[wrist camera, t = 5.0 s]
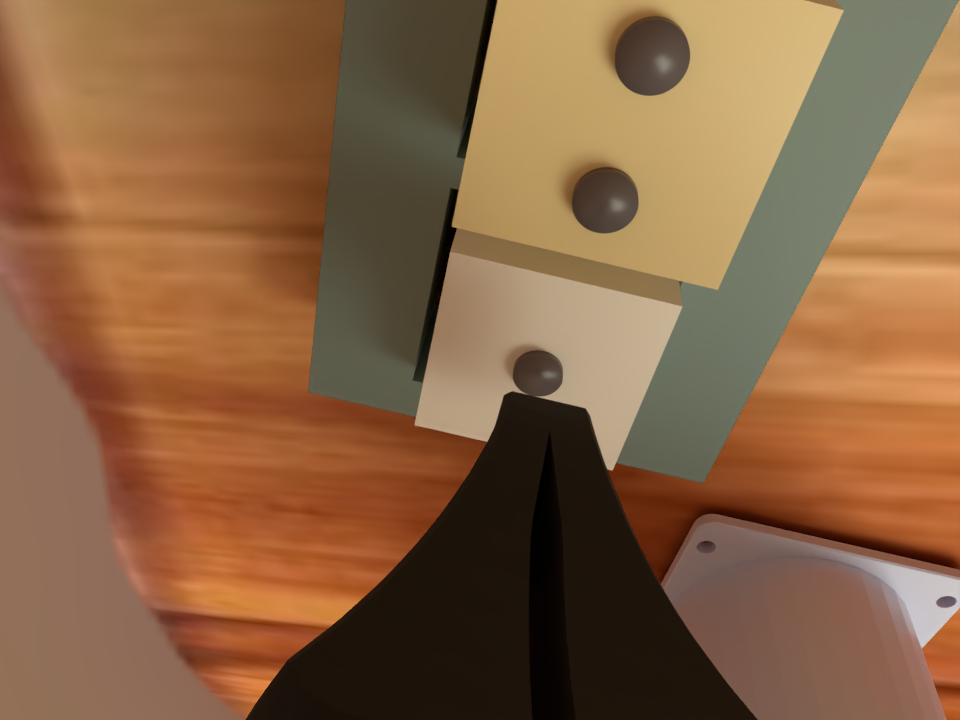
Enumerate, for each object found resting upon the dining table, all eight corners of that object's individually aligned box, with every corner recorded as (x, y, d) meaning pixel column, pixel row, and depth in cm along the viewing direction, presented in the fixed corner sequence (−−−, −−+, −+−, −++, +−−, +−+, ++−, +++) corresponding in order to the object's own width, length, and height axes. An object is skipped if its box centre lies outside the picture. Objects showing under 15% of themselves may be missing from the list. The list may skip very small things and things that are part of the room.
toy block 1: (691, 163, 16) (718, 297, 12) (485, 114, 16) (449, 232, 12) (779, -65, 13) (847, 15, 10) (536, -125, 13) (510, -69, 10)
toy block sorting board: (691, 398, 21) (703, 483, 19) (341, 316, 21) (308, 392, 18) (1159, -589, 11) (1318, -680, 8) (473, -775, 10) (435, -925, 8)
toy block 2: (610, 338, 20) (612, 477, 16) (448, 300, 20) (412, 431, 16) (666, 190, 18) (683, 312, 14) (481, 145, 17) (448, 257, 14)
